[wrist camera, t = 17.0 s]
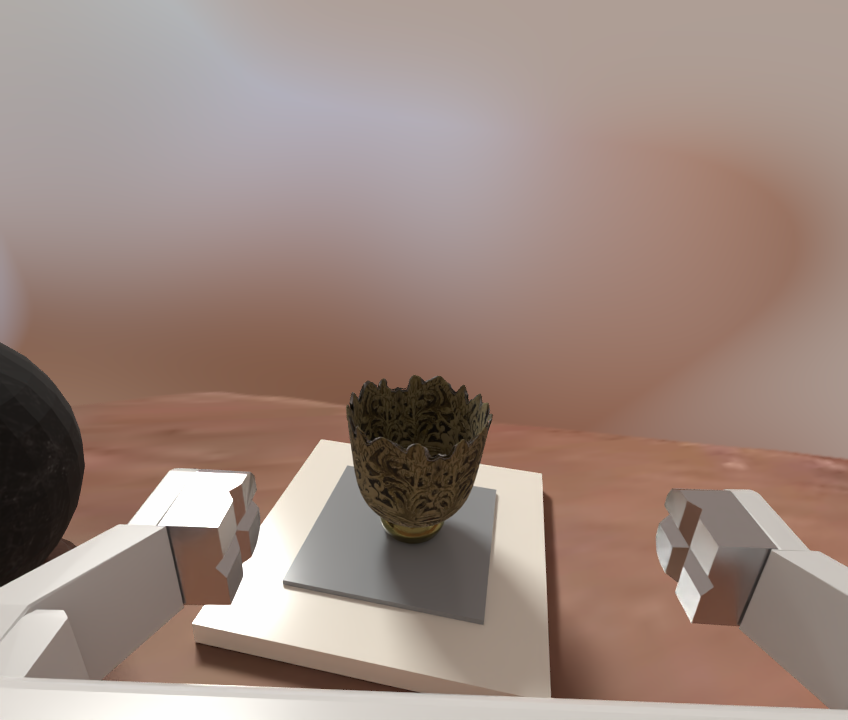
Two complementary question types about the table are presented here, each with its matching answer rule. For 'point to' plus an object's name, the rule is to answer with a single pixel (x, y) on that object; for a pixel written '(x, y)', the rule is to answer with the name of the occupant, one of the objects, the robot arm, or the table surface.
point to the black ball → (35, 467)
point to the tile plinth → (396, 587)
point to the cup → (416, 452)
